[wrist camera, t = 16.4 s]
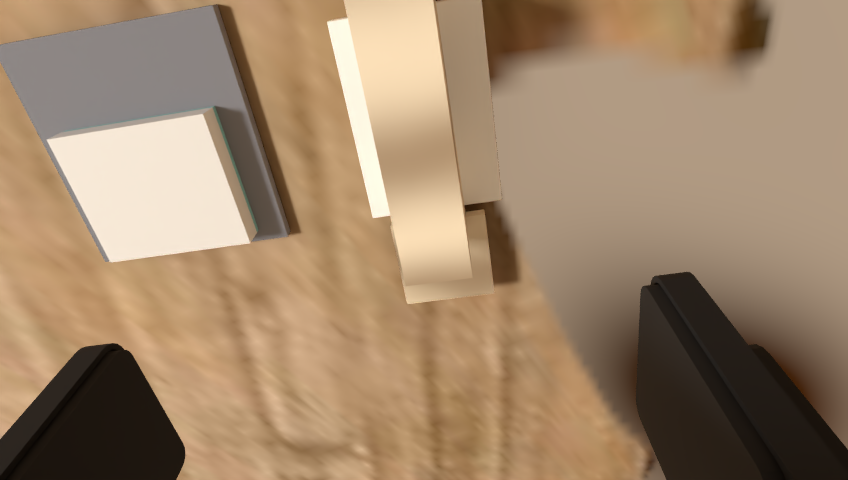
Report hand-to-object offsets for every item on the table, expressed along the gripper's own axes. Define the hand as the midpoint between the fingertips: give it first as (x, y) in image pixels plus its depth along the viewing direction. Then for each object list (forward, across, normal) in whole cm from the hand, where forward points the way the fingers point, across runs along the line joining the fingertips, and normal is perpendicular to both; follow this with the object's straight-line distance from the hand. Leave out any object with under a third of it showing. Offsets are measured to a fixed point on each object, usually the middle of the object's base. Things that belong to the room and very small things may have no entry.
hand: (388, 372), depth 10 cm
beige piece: (+18, 0, +3) cm, 18 cm away
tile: (+18, +14, -2) cm, 23 cm away
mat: (+19, +14, 0) cm, 24 cm away
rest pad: (+19, 0, +1) cm, 19 cm away
